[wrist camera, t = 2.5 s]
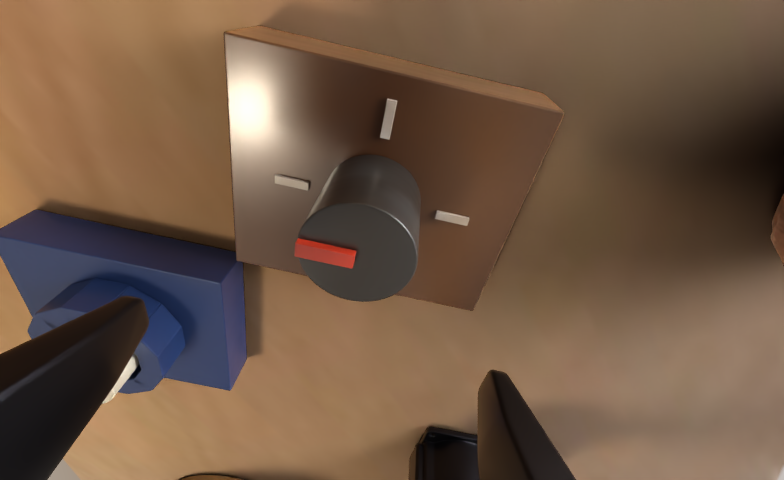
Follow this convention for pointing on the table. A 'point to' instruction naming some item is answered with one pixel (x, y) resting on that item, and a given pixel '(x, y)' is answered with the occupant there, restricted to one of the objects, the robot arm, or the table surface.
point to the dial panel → (379, 150)
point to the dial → (363, 230)
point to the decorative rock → (779, 230)
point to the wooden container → (210, 477)
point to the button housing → (134, 293)
